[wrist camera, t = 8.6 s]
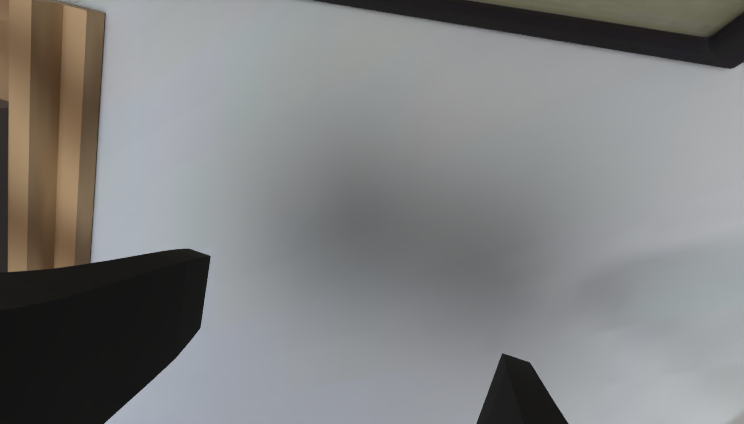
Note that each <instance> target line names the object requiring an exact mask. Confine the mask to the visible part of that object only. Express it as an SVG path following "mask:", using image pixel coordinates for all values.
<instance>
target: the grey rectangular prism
mask: <svg viewBox="0 0 744 424" xmlns="http://www.w3.org/2000/svg"><path fill="white" fill-rule="evenodd" d="M8 139H9V102H8V101H5V100H2V99H0V272H8Z"/></svg>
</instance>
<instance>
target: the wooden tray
mask: <svg viewBox="0 0 744 424" xmlns="http://www.w3.org/2000/svg"><path fill="white" fill-rule="evenodd" d="M104 21H105V13H102V12H99V11H95V10H91V9H87V8H83V7H79V6H76V5H72V4H68V3H64V2H60V1H56V0H0V99H2V100H5V101H8V102H9V139H8V272H16V271H31V270H43V269H52V268H61V267H68V266H75V265H82V264H89V263H90V251H91V235H92V218H93V202H94V186H95V169H96V153H97V136H98V120H99V103H100V87H101V70H102V54H103V38H104Z"/></svg>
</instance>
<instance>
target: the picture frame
mask: <svg viewBox="0 0 744 424" xmlns="http://www.w3.org/2000/svg"><path fill="white" fill-rule="evenodd" d="M315 1H321V2H327V3H333V4H339V5H345V6H351V7H357V8H363V9H370V10H376V11H382V12H388V13H394V14H400V15H406V16H412V17H418V18H424V19H431V20H437V21H443V22H449V23H455V24H461V25H467V26H473V27H479V28H486V29H492V30H498V31H504V32H510V33H516V34H522V35H528V36H534V37H541V38H547V39H553V40H559V41H565V42H571V43H577V44H583V45H589V46H596V47H602V48H608V49H614V50H620V51H626V52H632V53H638V54H644V55H651V56H657V57H663V58H669V59H675V60H681V61H687V62H693V63H699V64H705V65H712V66H718V67H724V68H730V69H731V68H734V67H736V66H738V65H739V64H741V63H743V62H744V0H315Z"/></svg>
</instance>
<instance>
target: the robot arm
mask: <svg viewBox="0 0 744 424" xmlns="http://www.w3.org/2000/svg"><path fill="white" fill-rule="evenodd" d="M210 257H211V256H209V255H206V254H203V253H200V252H197V251H194V250H191V249H176V250H168V251H161V252H155V253H149V254H144V255H138V256H132V257H126V258H121V259H115V260H109V261H103V262H96V263H89V264H82V265H75V266H68V267H61V268H52V269H43V270H31V271H16V272H0V424H104V423H105V422H106V421H107V420H108V419H110V418H111V417H112V416H113V415H114V414H115V413H116V412H117V411H118V410H120V409H121V408H122V407H123V406H124V405H125V404H126V403H127V402H128V401H130V400H131V399H132V398H133V397H134V396H135V395H136V394H137V393H138V392H139V391H141V390H142V389H143V388H144V387H145V386H146V385H147V384H148V383H149V382H151V381H152V380H153V379H154V378H155V377H156V376H157V375H158V374H159V373H160V372H161V371H163V370H164V369H165V368H166V367H167V366H168V365H169V364H170V363H171V362H172V361H173V360H174V359H175V358H176V357H177V356H178V355H179V354H180V352H181V351H182V350H183V349H184V348H185V347H186V345H187V344H188V343H189V342H190V340H191V339H192V338H193V337H194V335H195V334H196V333H197V332H198V330H199V329H200V327H201V320H202V313H203V306H204V299H205V292H206V285H207V278H208V271H209V264H210ZM477 424H568V422H567V421H566V419H565V418H564V416H563V415H562V413H561V412H560V410H559V409H558V407H557V406H556V404H555V402H554V401H553V399H552V398H551V396H550V394H549V393H548V391H547V389H546V388H545V386H544V385H543V383H542V381H541V380H540V378H539V376H538V375H537V373H536V371H535V370H534V368H533V367H532V365H531V364H530V362H527V361H524V360H521V359H518V358H515V357H512V356H509V355H506V354H503V353H502V355H501V358H500V361H499V364H498V366H497V369H496V372H495V375H494V377H493V380H492V383H491V386H490V388H489V391H488V394H487V397H486V399H485V402H484V405H483V408H482V410H481V413H480V416H479V418H478V421H477Z"/></svg>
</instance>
